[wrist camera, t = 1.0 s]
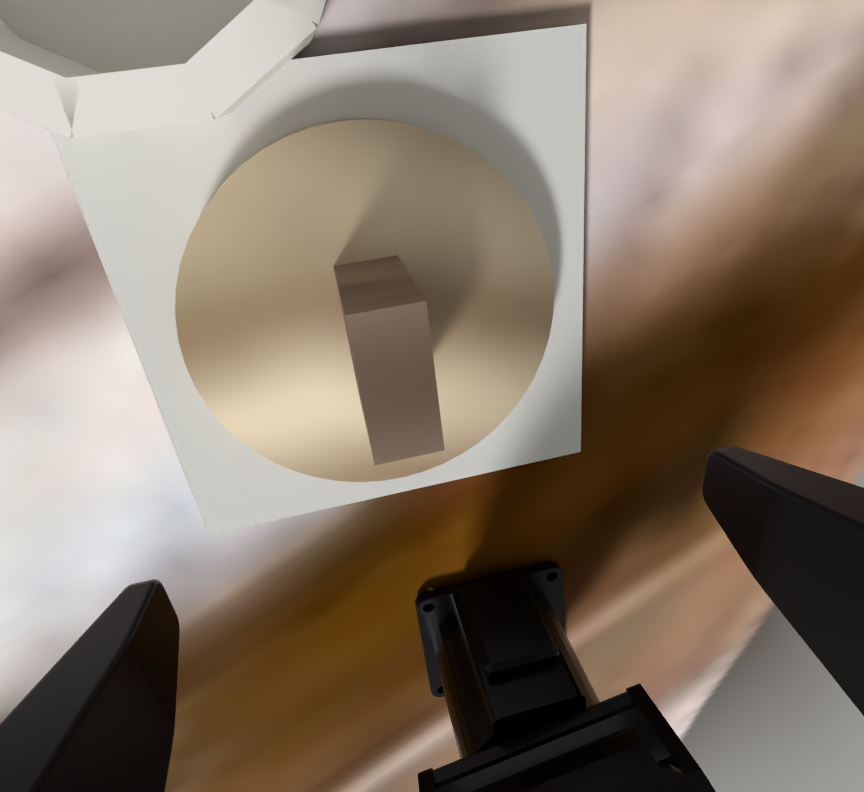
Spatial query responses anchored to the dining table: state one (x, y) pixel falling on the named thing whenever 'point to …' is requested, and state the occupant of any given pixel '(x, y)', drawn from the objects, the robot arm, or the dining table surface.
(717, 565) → the dining table surface
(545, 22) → the dining table surface
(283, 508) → the mat
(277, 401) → the lid
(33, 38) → the bowl
